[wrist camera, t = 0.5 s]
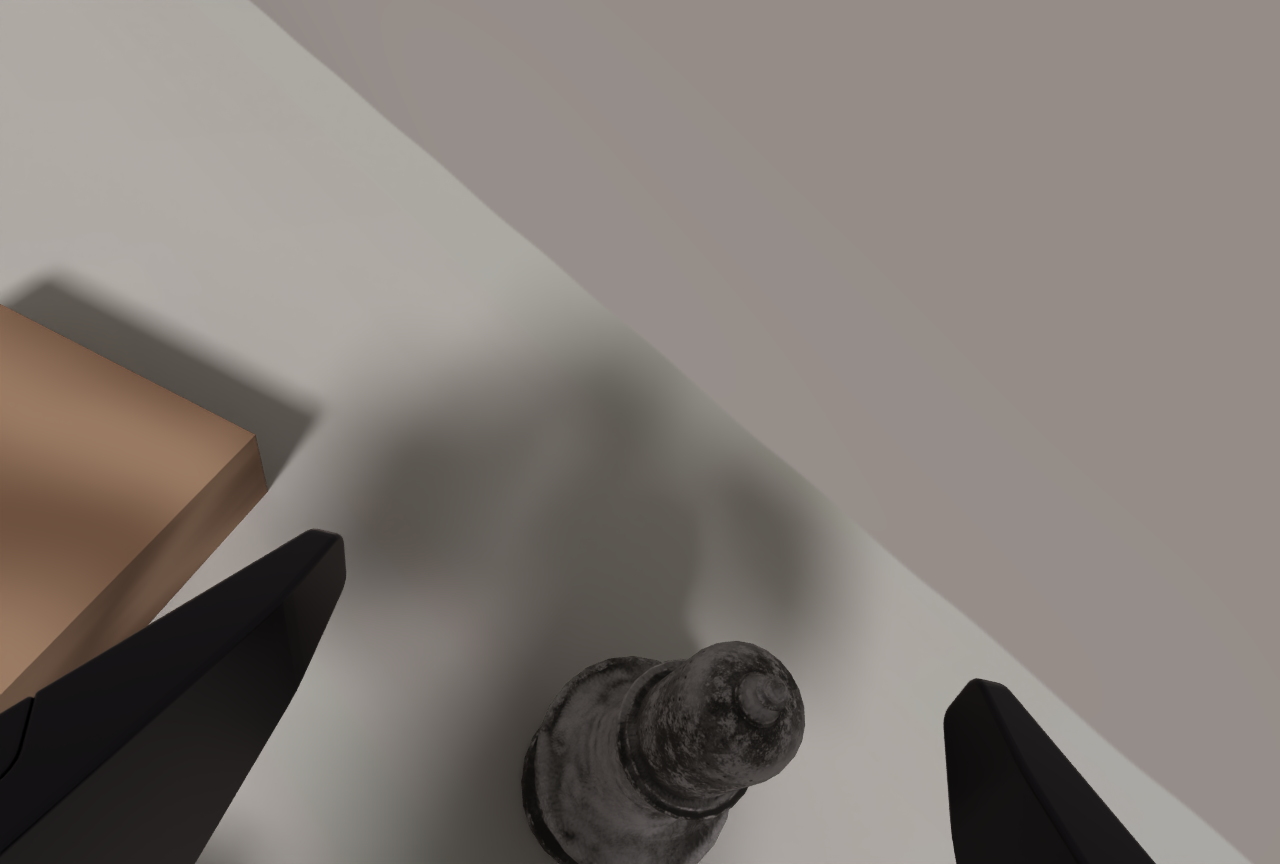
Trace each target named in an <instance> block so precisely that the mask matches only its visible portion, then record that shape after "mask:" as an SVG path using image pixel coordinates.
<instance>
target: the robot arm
mask: <svg viewBox="0 0 1280 864" xmlns="http://www.w3.org/2000/svg"><path fill="white" fill-rule="evenodd" d="M345 580H346V564H345V552H344V541H343V538H342V536H341V535H339V534H337V533H333V532H329V531H324V530H320V529H311V530H308V531H306V532H304V533H302V534H300V535H299V536H297V537H295V538H294V539H292V540H290V541H289V542H287V543H285V544H284V545H282V546H280V547H279V548H277V549H275V550H274V551H272V552H270V553H269V554H267V555H265V556H264V557H262V558H260V559H258V560H257V561H255V562H253V563H252V564H250V565H248V566H247V567H245V568H243V569H242V570H240V571H238V572H237V573H235V574H233V575H232V576H230V577H228V578H227V579H225V580H223V581H222V582H220V583H218V584H217V585H215V586H213V587H211V588H210V589H208V590H206V591H205V592H203V593H201V594H200V595H198V596H196V597H195V598H193V599H191V600H190V601H188V602H186V603H185V604H183V605H181V606H180V607H178V608H176V609H175V610H173V611H171V612H170V613H168V614H166V615H164V616H163V617H161V618H159V619H158V620H156V621H154V622H153V623H151V624H149V625H148V626H146V627H144V628H143V629H141V630H139V631H138V632H136V633H134V634H133V635H131V636H129V637H128V638H126V639H124V640H123V641H121V642H119V643H117V644H116V645H114V646H112V647H111V648H109V649H107V650H106V651H104V652H102V653H101V654H99V655H97V656H96V657H94V658H92V659H91V660H89V661H87V662H86V663H84V664H82V665H81V666H79V667H77V668H76V669H74V670H72V671H70V672H69V673H67V674H65V675H64V676H62V677H60V678H59V679H57V680H55V681H54V682H52V683H50V684H49V685H47V686H45V687H44V688H42V689H40V690H39V691H37V692H36V694H35V696H34V697H31V696H29V697H26V698H25V699H23V700H21V701H20V702H18V703H16V704H15V705H13V706H11V707H10V708H8V709H6V710H5V711H3V712H1V713H0V864H195V863H196V861H197V859H198V858H199V856H200V854H201V853H202V851H203V849H204V848H205V846H206V844H207V842H208V841H209V839H210V837H211V836H212V834H213V832H214V831H215V829H216V827H217V826H218V824H219V822H220V820H221V819H222V817H223V815H224V814H225V812H226V810H227V809H228V807H229V805H230V804H231V802H232V800H233V798H234V797H235V795H236V793H237V792H238V790H239V788H240V787H241V785H242V783H243V782H244V780H245V778H246V776H247V775H248V773H249V771H250V770H251V768H252V766H253V765H254V763H255V761H256V760H257V758H258V756H259V754H260V753H261V751H262V749H263V748H264V746H265V744H266V743H267V741H268V739H269V738H270V736H271V734H272V732H273V731H274V729H275V727H276V726H277V724H278V722H279V721H280V719H281V717H282V716H283V714H284V712H285V710H286V709H287V707H288V705H289V704H290V702H291V700H292V698H293V696H294V695H295V693H296V691H297V689H298V687H299V685H300V683H301V681H302V679H303V677H304V674H305V672H306V670H307V668H308V666H309V663H310V661H311V659H312V657H313V655H314V652H315V650H316V648H317V646H318V643H319V641H320V639H321V637H322V635H323V632H324V630H325V628H326V626H327V624H328V621H329V619H330V617H331V615H332V612H333V610H334V608H335V606H336V604H337V601H338V599H339V597H340V595H341V593H342V590H343V587H344V584H345ZM944 741H945V755H946V769H947V783H948V797H949V811H950V822H951V832H952V840H953V846H954V853H955V858H956V864H1156V863H1155V862H1154V861H1153V860H1152V859H1151V857H1150V856H1149V855H1148V854H1147V853H1146V851H1145V850H1144V849H1143V848H1142V847H1141V845H1140V844H1139V843H1138V842H1137V841H1136V840H1135V838H1134V837H1133V836H1132V835H1131V834H1130V832H1129V831H1128V830H1127V829H1126V828H1125V826H1124V825H1123V824H1122V823H1121V822H1120V821H1119V819H1118V818H1117V817H1116V816H1115V815H1114V813H1113V812H1112V811H1111V810H1110V809H1109V807H1108V806H1107V805H1106V804H1105V803H1104V802H1103V800H1102V799H1101V798H1100V797H1099V796H1098V794H1097V793H1096V792H1095V791H1094V790H1093V788H1092V787H1091V786H1090V785H1089V784H1088V783H1087V781H1086V780H1085V779H1084V778H1083V777H1082V775H1081V774H1080V773H1079V772H1078V771H1077V769H1076V768H1075V767H1074V766H1073V765H1072V764H1071V762H1070V761H1069V760H1068V759H1067V758H1066V756H1065V755H1064V754H1063V753H1062V752H1061V751H1060V749H1059V748H1058V747H1057V746H1056V745H1055V743H1054V742H1053V741H1052V740H1051V739H1050V737H1049V736H1048V735H1047V734H1046V733H1045V732H1044V730H1043V729H1042V728H1041V727H1040V726H1039V724H1038V723H1037V722H1036V721H1035V720H1034V718H1033V717H1032V716H1031V715H1030V714H1029V713H1028V711H1027V710H1026V709H1025V708H1024V707H1023V705H1022V704H1021V703H1020V702H1019V701H1018V699H1017V698H1016V697H1015V696H1014V695H1013V694H1012V692H1011V691H1010V690H1009V689H1008V688H1007V687H1006V686H1004V685H1002V684H1000V683H997V682H992V681H988V680H983V679H978V678H975V679H973V680H971V681H969V682H968V683H967V685H966V686H965V687H964V688H963V690H962V691H961V692H960V693H959V695H958V696H957V697H956V698H955V700H954V701H953V702H952V703H951V705H950V706H949V707H948V709H947V711H946V713H945V717H944Z"/></svg>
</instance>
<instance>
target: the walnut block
mask: <svg viewBox="0 0 1280 864" xmlns="http://www.w3.org/2000/svg"><path fill="white" fill-rule="evenodd" d="M267 492H268V491H267V486H266V481H265V477H264V472H263V468H262V463H261V458H260V454H259V449H258V444H257V440H256V435H255V434H253V433H251V432H249V431H247V430H245V429H243V428H241V427H239V426H237V425H235V424H233V423H231V422H229V421H227V420H225V419H224V418H222V417H220V416H218V415H216V414H214V413H212V412H210V411H208V410H206V409H204V408H202V407H200V406H198V405H196V404H194V403H192V402H190V401H188V400H186V399H184V398H183V397H181V396H179V395H177V394H175V393H173V392H171V391H169V390H167V389H165V388H163V387H161V386H159V385H157V384H155V383H153V382H151V381H149V380H147V379H145V378H144V377H142V376H140V375H138V374H136V373H134V372H132V371H130V370H128V369H126V368H124V367H122V366H120V365H118V364H116V363H114V362H112V361H110V360H108V359H106V358H104V357H103V356H101V355H99V354H97V353H95V352H93V351H91V350H89V349H87V348H85V347H83V346H81V345H79V344H77V343H75V342H73V341H71V340H69V339H67V338H65V337H64V336H62V335H60V334H58V333H56V332H54V331H52V330H50V329H48V328H46V327H44V326H42V325H40V324H38V323H36V322H34V321H32V320H30V319H28V318H26V317H25V316H23V315H21V314H19V313H17V312H15V311H13V310H11V309H9V308H7V307H5V306H3V305H1V304H0V713H1V712H3V711H5V710H6V709H8V708H10V707H11V706H13V705H15V704H16V703H18V702H20V701H21V700H23V699H25V698H26V697H29V696H31V697H34V696H35V694H36V692H37V691H39V690H40V689H42V688H44V687H45V686H47V685H49V684H50V683H52V682H54V681H55V680H57V679H59V678H60V677H62V676H64V675H65V674H67V673H69V672H70V671H72V670H74V669H76V668H77V667H79V666H81V665H82V664H84V663H86V662H87V661H89V660H91V659H92V658H94V657H96V656H97V655H99V654H101V653H102V652H104V651H106V650H107V649H109V648H111V647H112V646H114V645H116V644H117V643H119V642H121V641H123V640H124V639H126V638H128V637H129V636H131V635H133V634H134V633H136V632H138V631H139V630H141V629H143V628H144V627H146V626H147V625H148V624H149V623H150V622H151V621H152V620H153V619H154V618H155V617H156V615H157V614H158V613H159V612H160V611H161V610H162V609H163V608H164V607H165V605H166V604H167V603H168V602H169V601H170V600H171V599H172V598H173V597H174V595H175V594H176V593H177V592H178V591H179V590H180V589H181V588H182V586H183V585H184V584H185V583H186V582H187V581H188V580H189V579H190V578H191V576H192V575H193V574H194V573H195V572H196V571H197V570H198V569H199V568H200V566H201V565H202V564H203V563H204V562H205V561H206V560H207V559H208V558H209V556H210V555H211V554H212V553H213V552H214V551H215V550H216V549H217V547H218V546H219V545H220V544H221V543H222V542H223V541H224V540H225V539H226V537H227V536H228V535H229V534H230V533H231V532H232V531H233V530H234V529H235V527H236V526H237V525H238V524H239V523H240V522H241V521H242V520H243V519H244V517H245V516H246V515H247V514H248V513H249V512H250V511H251V510H252V509H253V507H254V506H255V505H256V504H257V503H258V502H259V501H260V500H261V498H262V497H263V496H264V495H265V494H266V493H267Z"/></svg>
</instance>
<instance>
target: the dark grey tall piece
mask: <svg viewBox="0 0 1280 864" xmlns="http://www.w3.org/2000/svg"><path fill="white" fill-rule="evenodd" d="M804 728H805V715H804V705H803V701H802V698H801V694H800V691H799V688H798V687H797V685H796V683H795V681H794V679H793V677H792V675H791V674H790V672H789V671H788V670H787V669H786V667H785V666H784V665H783V664H782V663H781V661H780V660H778V659H777V658H776V657H775V656H773V655H772V654H771V653H769V652H768V651H767V650H765V649H763V648H760V647H758V646H756V645H754V644H751V643H745V642H740V641H733V642H722V643H717V644H714V645H712V646H709V647H707V648H704V649H702V650H701V651H699V652H698V653H697V654H695V655H694V656H693V657H691V658H690V659H689V660H684V659H683V660H674V661H666V662H663V663H661V662H659V661H657V660H651V659H646V658H640V657H635V656H631V657H621V658H611V659H608V660H605V661H603V662H600V663H598V664H595V665H593V666H590V667H588V668H586V669H585V670H583V671H582V672H581V673H580V674H578V675H577V676H576V677H574V678H573V679H572V680H571V681H569V682H568V683H567V684H566V685H565V686H564V688H563V689H562V690H561V692H560V693H559V694H558V696H557V697H556V698H555V700H554V701H553V702H552V704H551V705H550V706H549V709H548V711H547V714H546V716H545V719H544V721H543V723H542V726H541V727H540V728H539V730H538V731H537V732H536V734H535V735H534V737H533V739H532V742H531V744H530V747H529V749H528V752H527V754H526V756H525V762H524V768H523V775H522V794H523V806H524V809H525V812H526V815H527V818H528V821H529V824H530V827H531V830H532V832H533V833H534V835H535V836H536V838H537V839H538V841H539V842H540V844H541V845H542V847H543V849H544V850H545V851H546V852H547V853H548V854H549V855H551V856H552V857H553V858H554V859H555V860H556V861H557V862H558V863H560V864H697V863H698V862H699V861H700V860H701V859H702V858H703V857H704V856H705V854H706V853H707V852H708V851H709V850H710V849H711V848H712V847H713V845H714V844H715V842H716V840H717V838H718V836H719V834H720V832H721V830H722V828H723V826H724V824H725V822H726V820H727V816H728V812H729V809H730V808H732V807H733V806H734V805H735V804H736V803H737V801H738V800H739V799H740V798H741V797H742V796H743V795H744V794H745V792H746V790H747V788H748V787H749V786H752V785H755V784H758V783H762V782H765V781H767V780H768V779H770V778H772V777H774V776H775V775H777V774H779V773H780V772H781V771H782V770H783V769H784V768H785V767H786V766H787V764H788V763H789V762H790V761H791V760H792V759H793V758H794V757H795V755H796V753H797V751H798V749H799V747H800V745H801V742H802V739H803V733H804Z"/></svg>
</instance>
